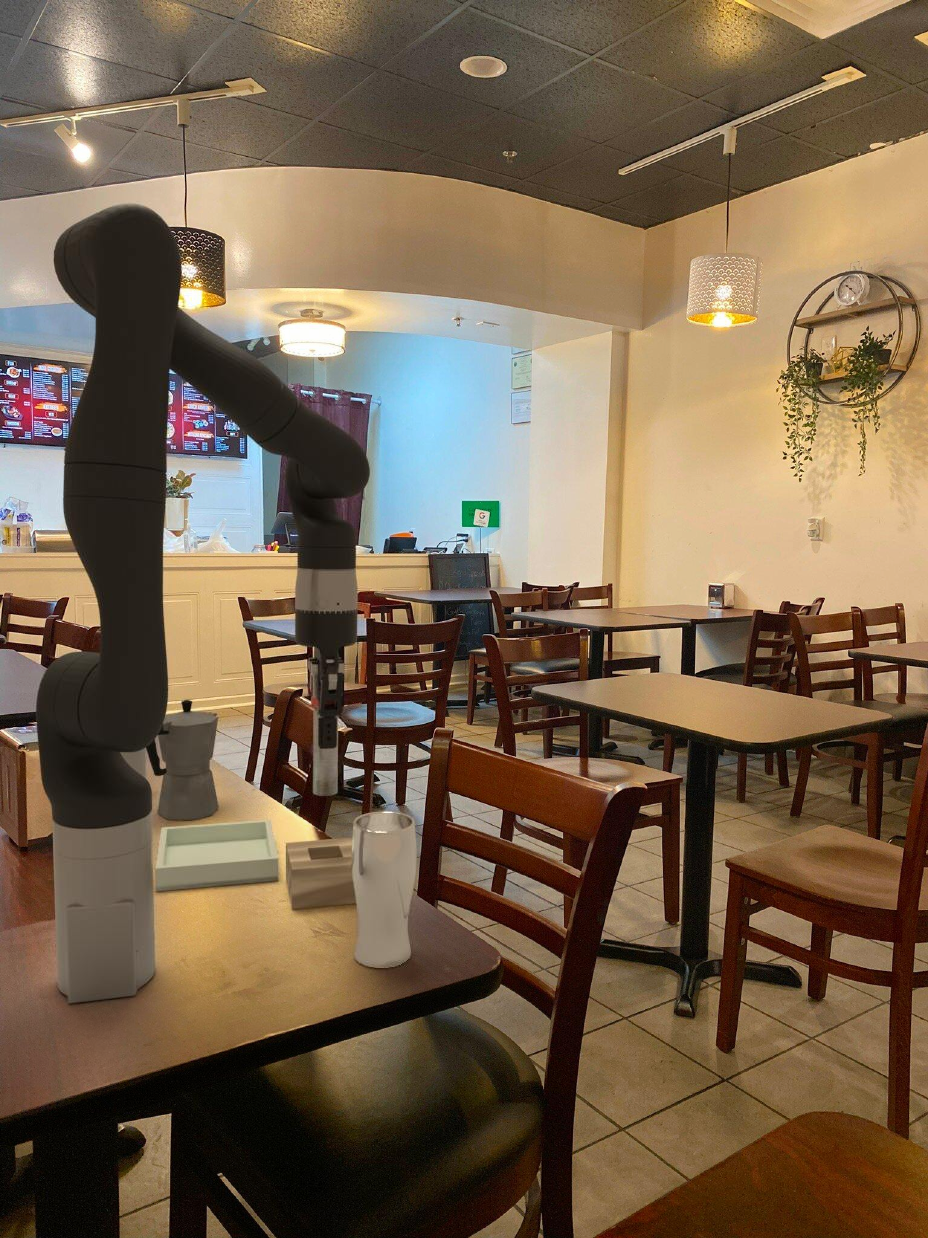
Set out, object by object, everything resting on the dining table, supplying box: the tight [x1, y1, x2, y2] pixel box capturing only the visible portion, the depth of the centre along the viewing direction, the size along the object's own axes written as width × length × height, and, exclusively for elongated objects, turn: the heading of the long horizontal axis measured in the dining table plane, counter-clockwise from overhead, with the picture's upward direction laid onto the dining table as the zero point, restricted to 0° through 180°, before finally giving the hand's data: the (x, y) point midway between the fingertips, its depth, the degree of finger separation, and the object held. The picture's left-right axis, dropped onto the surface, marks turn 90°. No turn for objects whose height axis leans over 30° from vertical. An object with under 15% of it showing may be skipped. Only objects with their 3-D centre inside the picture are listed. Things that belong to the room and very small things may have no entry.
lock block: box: [285, 837, 356, 910], centre depth 112 cm, size 9×9×5 cm
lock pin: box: [310, 695, 339, 797], centre depth 110 cm, size 4×4×12 cm
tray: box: [154, 819, 279, 892], centre depth 120 cm, size 15×15×3 cm
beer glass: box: [351, 810, 417, 968], centre depth 95 cm, size 7×7×15 cm
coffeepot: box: [145, 699, 220, 822], centre depth 138 cm, size 15×9×18 cm, turn 155°
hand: (325, 743), depth 110 cm, fingers closed on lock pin, 3 cm apart
